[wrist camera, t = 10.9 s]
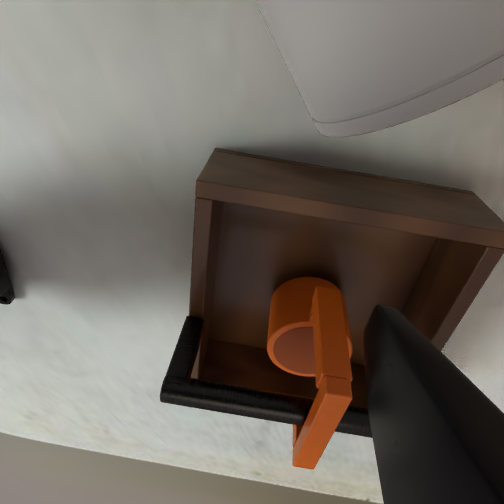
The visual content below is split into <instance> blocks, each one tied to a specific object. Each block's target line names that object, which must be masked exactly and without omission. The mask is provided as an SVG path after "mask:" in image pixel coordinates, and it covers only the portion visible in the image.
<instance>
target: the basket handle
mask: <svg viewBox="0 0 504 504" xmlns="http://www.w3.org/2000/svg"><path fill="white" fill-rule="evenodd" d="M204 321H205V320H204V319H203V318H198V317H192V316H187V317H186V320H185V322H184V325H183V328H182V331H181V334H180V337H179V339H178V342H177V345H176V348H175V351H174V354H173V356H172V359H171V362H170V365H169V368H168V371H167V373H166V376H165V378H164V381H163V384H162V387H161V393H160V401H161V402H164V403H170V404H175V405H181V406H187V407H193V408H199V409H205V410H211V411H217V412H223V413H229V414H235V415H241V416H246V417H252V418H258V419H264V420H270V421H276V422H282V423H288V424H294V425H300V426H303V425H304V423H305V421H306V418H307V416H308V414H309V411H310V409H311V407H312V404H313V402H314V400H315V399H314V398H308V397H302V396H296V395H290V394H284V393H278V392H272V391H266V390H260V389H254V388H249V387H243V386H237V385H231V384H225V383H219V382H213V381H207V380H201V379H195V378H191V374H192V371H193V367H194V363H195V360H196V356H197V353H198V349H199V346H200V342H201V339H202V335H203V332H204ZM335 432H341V433H347V434H353V435H359V436H365V437H371V438H373V437H372V431H371V425H370V419H369V413H368V408H367V407H361V406H355V405H349V406H348V407H347V409H346V411H345V413H344V415H343V417H342V418H341V420H340V422H339V424H338V426H337V428H336V429H335Z"/></svg>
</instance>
